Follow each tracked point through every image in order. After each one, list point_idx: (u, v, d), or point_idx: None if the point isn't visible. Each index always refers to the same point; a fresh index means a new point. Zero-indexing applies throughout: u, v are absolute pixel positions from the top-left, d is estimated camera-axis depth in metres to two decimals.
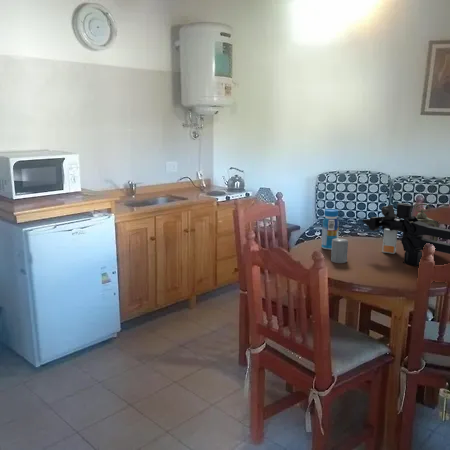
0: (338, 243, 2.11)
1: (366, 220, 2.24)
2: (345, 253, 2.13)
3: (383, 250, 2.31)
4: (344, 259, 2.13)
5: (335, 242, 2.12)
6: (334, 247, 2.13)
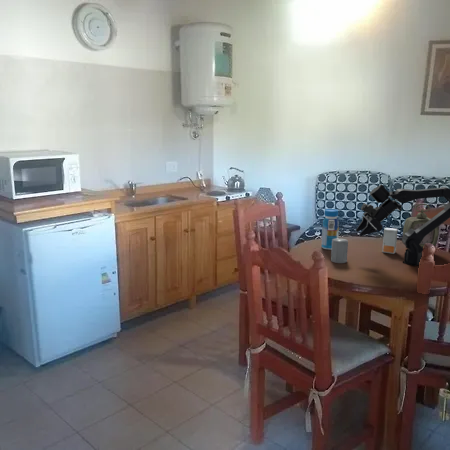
0: (338, 243, 2.11)
1: (364, 231, 2.07)
2: (345, 253, 2.13)
3: (383, 250, 2.31)
4: (344, 259, 2.13)
5: (335, 242, 2.12)
6: (334, 247, 2.13)
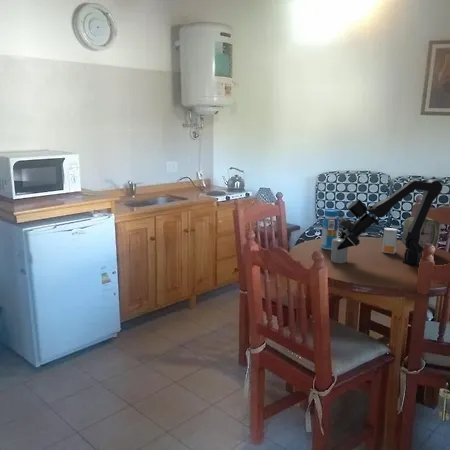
0: (338, 243, 2.11)
1: (341, 244, 2.10)
2: (345, 253, 2.13)
3: (383, 250, 2.31)
4: (344, 259, 2.13)
5: (335, 242, 2.12)
6: (334, 247, 2.13)
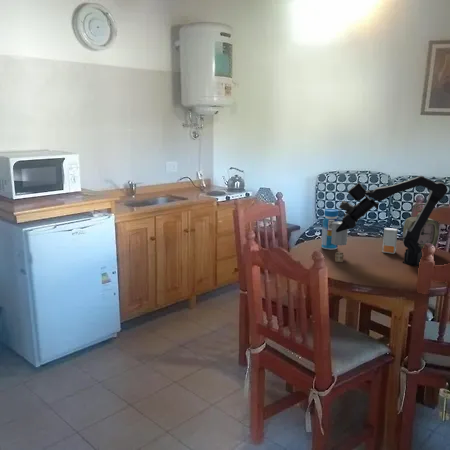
0: (337, 225, 2.16)
1: (339, 227, 2.15)
2: (344, 236, 2.17)
3: (383, 250, 2.31)
4: (343, 241, 2.18)
5: (334, 224, 2.17)
6: (333, 229, 2.18)
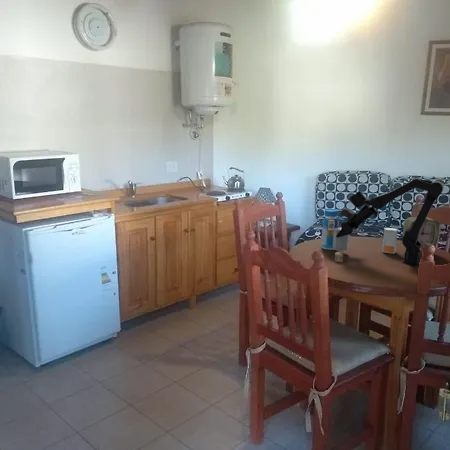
0: (337, 231, 2.24)
1: (339, 233, 2.22)
2: (344, 241, 2.24)
3: (383, 250, 2.31)
4: (343, 247, 2.24)
5: (335, 230, 2.25)
6: (334, 235, 2.26)
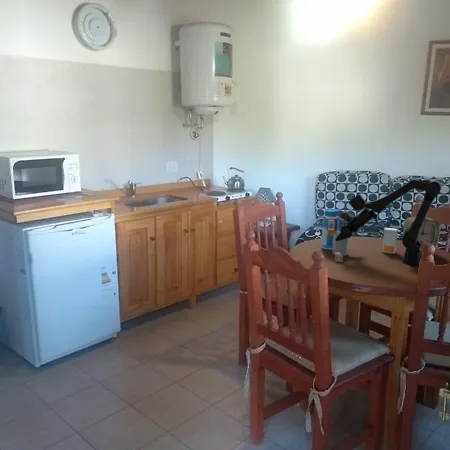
0: None
1: (338, 236, 2.22)
2: (344, 246, 2.25)
3: (383, 250, 2.31)
4: (342, 252, 2.25)
5: (335, 235, 2.26)
6: (334, 240, 2.26)
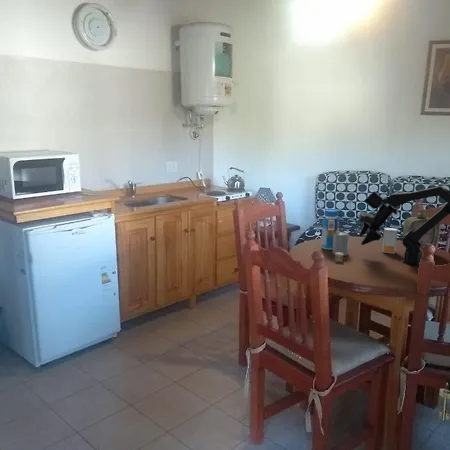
0: (337, 236, 2.24)
1: (364, 240, 2.16)
2: (344, 246, 2.25)
3: (383, 250, 2.31)
4: (342, 252, 2.25)
5: (335, 235, 2.26)
6: (334, 240, 2.26)
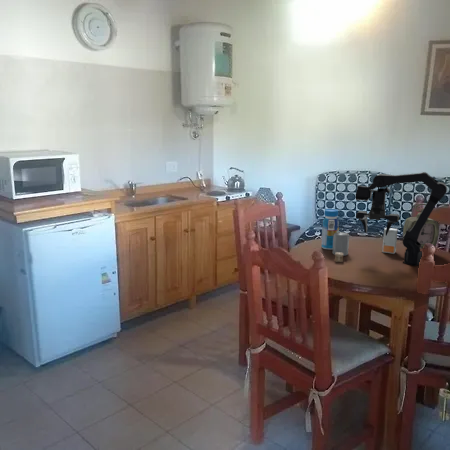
0: (337, 236, 2.24)
1: (388, 230, 2.14)
2: (344, 246, 2.25)
3: (383, 250, 2.31)
4: (342, 252, 2.25)
5: (335, 235, 2.26)
6: (334, 240, 2.26)
